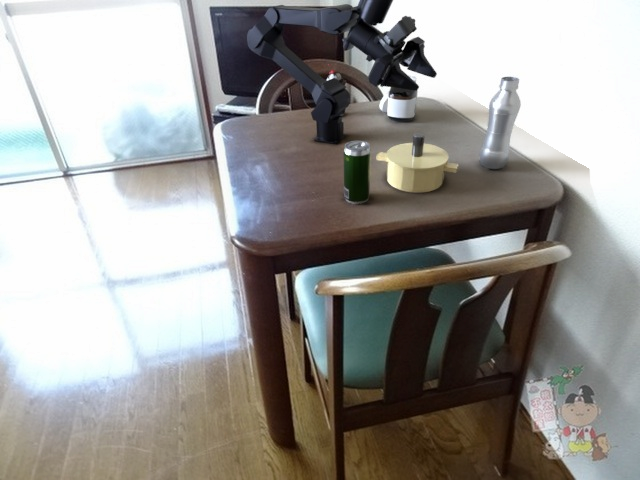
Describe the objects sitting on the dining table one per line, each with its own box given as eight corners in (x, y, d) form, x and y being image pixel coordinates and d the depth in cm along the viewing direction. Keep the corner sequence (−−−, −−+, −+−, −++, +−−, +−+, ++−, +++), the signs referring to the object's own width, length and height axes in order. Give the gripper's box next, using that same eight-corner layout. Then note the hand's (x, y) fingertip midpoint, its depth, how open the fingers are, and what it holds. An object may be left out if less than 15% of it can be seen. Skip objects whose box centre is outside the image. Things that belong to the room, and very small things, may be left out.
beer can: (354, 207, 89) (354, 153, 82) (339, 197, 93) (338, 144, 86) (374, 199, 91) (376, 146, 85) (358, 190, 95) (359, 138, 88)
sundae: (324, 112, 137) (322, 62, 129) (345, 110, 138) (344, 61, 129) (326, 119, 132) (324, 68, 123) (347, 117, 132) (347, 66, 124)
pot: (448, 199, 91) (452, 175, 87) (368, 184, 97) (368, 162, 94) (459, 174, 100) (463, 151, 96) (385, 162, 106) (386, 141, 103)
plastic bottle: (506, 161, 104) (526, 75, 92) (506, 174, 99) (527, 84, 87) (478, 158, 106) (494, 73, 94) (476, 170, 101) (493, 82, 89)
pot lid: (440, 177, 88) (443, 151, 85) (377, 167, 93) (378, 142, 90) (453, 152, 98) (457, 128, 95) (396, 143, 103) (397, 120, 100)
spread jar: (409, 125, 125) (412, 84, 119) (372, 120, 130) (373, 80, 123) (419, 112, 134) (423, 73, 127) (384, 108, 138) (386, 70, 132)
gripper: (365, 18, 87) (426, 62, 84) (407, 0, 98) (463, 38, 96) (345, 66, 96) (401, 107, 93) (386, 44, 107) (437, 80, 104)
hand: (427, 82), depth 96 cm, fingers open, 9 cm apart
